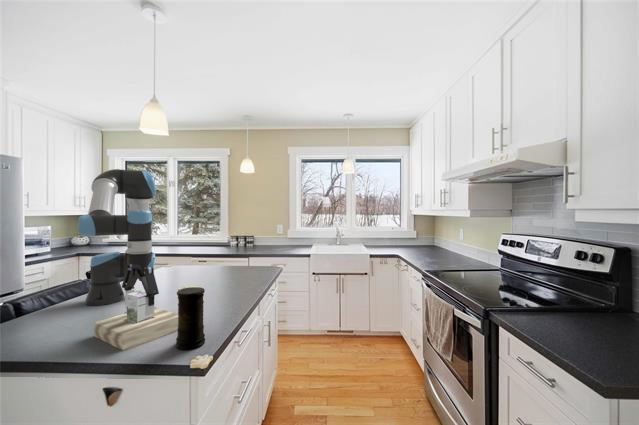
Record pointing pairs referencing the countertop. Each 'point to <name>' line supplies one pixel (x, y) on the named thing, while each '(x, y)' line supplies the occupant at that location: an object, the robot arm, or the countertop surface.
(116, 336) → the socket block
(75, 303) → the countertop surface
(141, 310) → the syrup box
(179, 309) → the container
